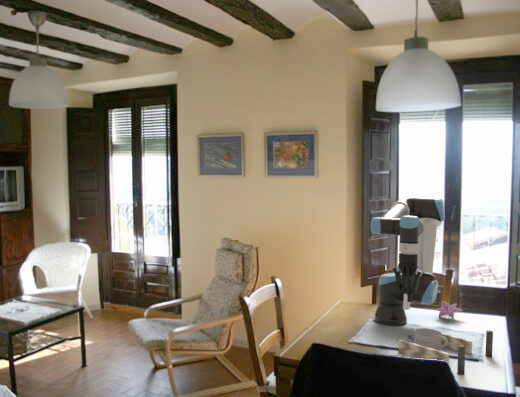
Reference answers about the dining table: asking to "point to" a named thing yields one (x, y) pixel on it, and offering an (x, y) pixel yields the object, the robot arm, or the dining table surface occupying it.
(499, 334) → the dining table surface
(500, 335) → the dining table surface
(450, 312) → the lily
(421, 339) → the teacup
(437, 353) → the wooden bars
